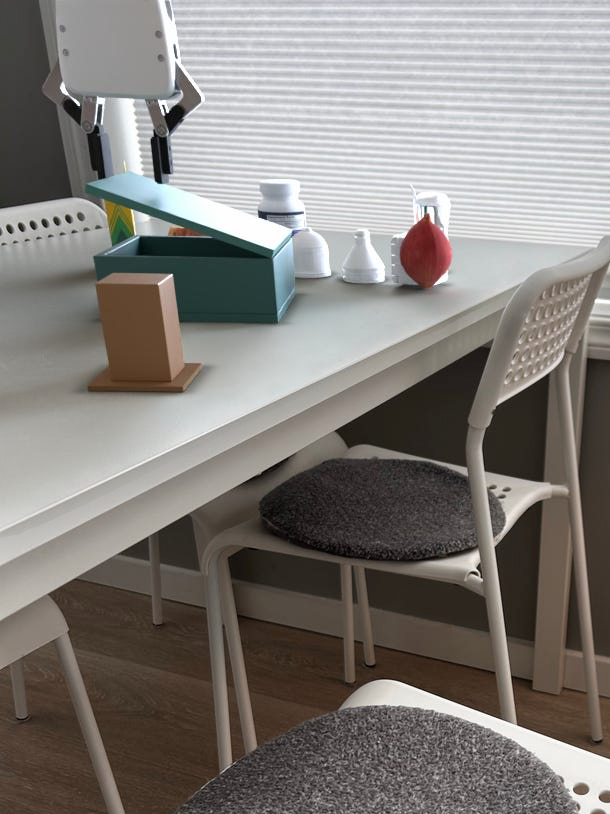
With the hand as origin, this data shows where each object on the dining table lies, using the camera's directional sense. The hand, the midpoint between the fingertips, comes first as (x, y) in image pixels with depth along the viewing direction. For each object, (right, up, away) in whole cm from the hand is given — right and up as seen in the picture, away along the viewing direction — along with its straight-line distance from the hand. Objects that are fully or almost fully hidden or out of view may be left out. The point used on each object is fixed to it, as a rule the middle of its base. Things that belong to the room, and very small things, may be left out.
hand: (134, 179), depth 91 cm
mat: (+8, -24, -18) cm, 31 cm away
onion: (+27, -5, +16) cm, 32 cm away
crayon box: (-10, +1, +25) cm, 27 cm away
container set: (+19, -1, +22) cm, 30 cm away
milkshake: (+27, +2, +28) cm, 39 cm away
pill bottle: (+9, +2, +27) cm, 29 cm away
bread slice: (-1, +8, +38) cm, 39 cm away
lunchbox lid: (+6, -3, +2) cm, 6 cm away
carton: (+8, -24, -18) cm, 31 cm away
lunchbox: (+5, -10, +6) cm, 13 cm away
